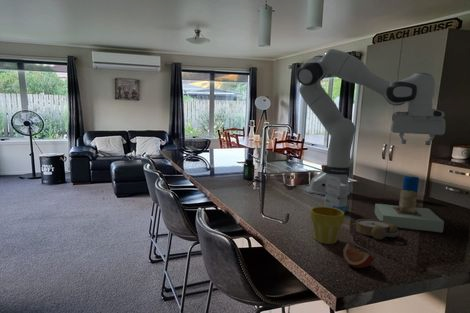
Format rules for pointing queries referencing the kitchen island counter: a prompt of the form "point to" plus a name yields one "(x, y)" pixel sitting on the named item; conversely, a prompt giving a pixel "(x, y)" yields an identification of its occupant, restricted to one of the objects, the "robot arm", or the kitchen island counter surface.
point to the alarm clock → (376, 228)
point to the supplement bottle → (248, 170)
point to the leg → (407, 201)
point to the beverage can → (411, 183)
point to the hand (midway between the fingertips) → (415, 144)
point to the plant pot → (326, 223)
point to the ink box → (336, 194)
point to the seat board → (409, 218)
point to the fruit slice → (356, 256)
